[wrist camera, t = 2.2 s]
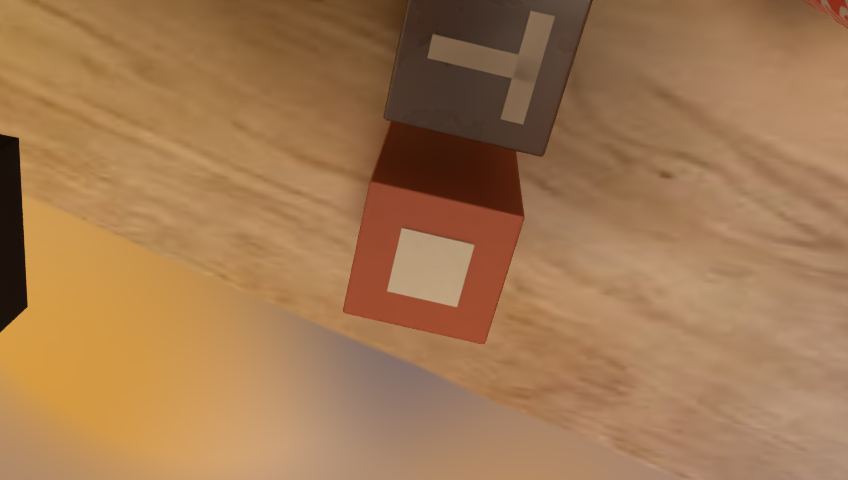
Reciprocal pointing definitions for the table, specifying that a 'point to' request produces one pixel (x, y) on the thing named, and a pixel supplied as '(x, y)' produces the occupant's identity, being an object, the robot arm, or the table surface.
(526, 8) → the tile
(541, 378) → the table surface
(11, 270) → the robot arm
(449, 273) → the orange red block
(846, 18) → the beverage cup
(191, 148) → the table surface
